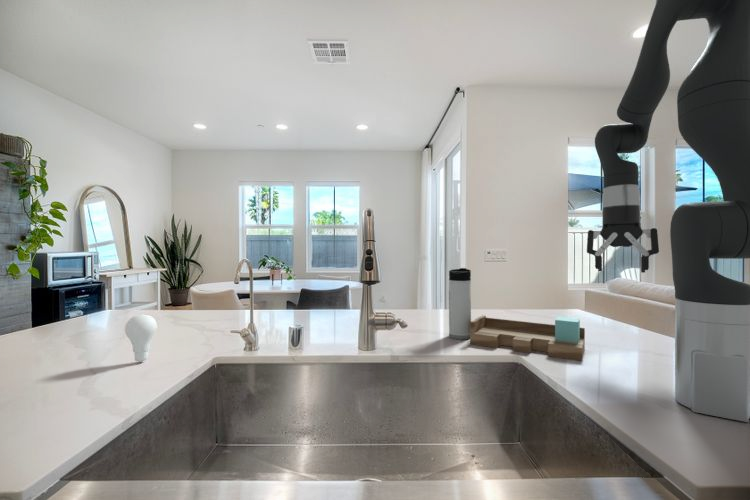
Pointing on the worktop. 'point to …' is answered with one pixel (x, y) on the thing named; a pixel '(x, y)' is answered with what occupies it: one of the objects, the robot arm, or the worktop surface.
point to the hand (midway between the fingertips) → (621, 271)
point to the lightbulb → (141, 334)
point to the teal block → (567, 329)
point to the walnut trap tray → (524, 337)
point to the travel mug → (459, 303)
